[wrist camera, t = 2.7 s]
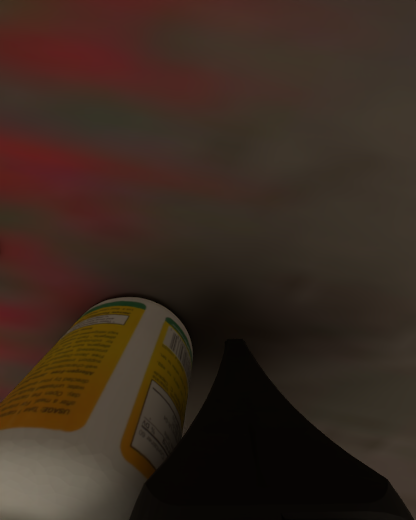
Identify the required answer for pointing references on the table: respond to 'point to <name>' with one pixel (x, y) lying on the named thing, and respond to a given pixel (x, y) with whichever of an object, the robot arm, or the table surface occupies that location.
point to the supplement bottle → (95, 415)
